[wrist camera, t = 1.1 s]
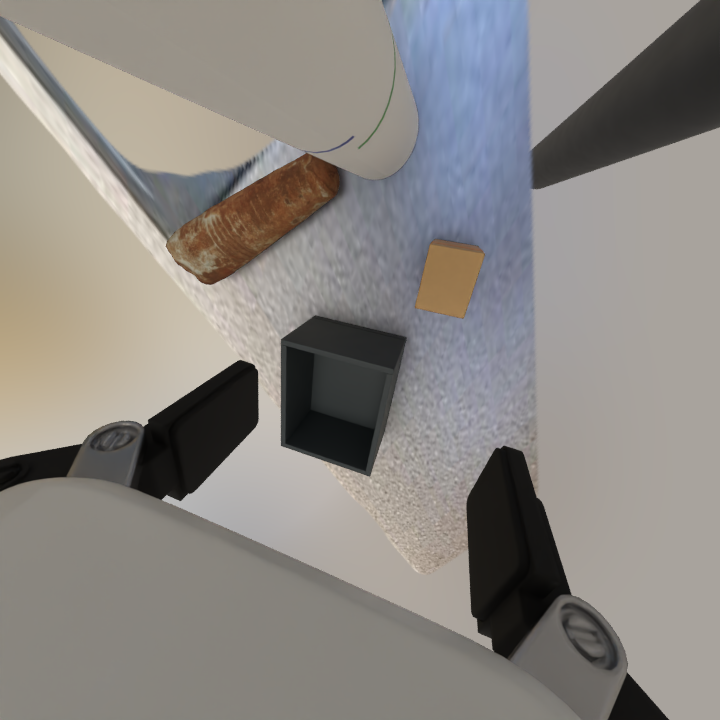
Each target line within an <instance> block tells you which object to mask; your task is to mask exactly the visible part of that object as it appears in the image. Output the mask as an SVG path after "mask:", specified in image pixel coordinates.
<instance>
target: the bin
mask: <svg viewBox="0 0 720 720" xmlns="http://www.w3.org/2000/svg"><path fill="white" fill-rule="evenodd" d="M406 339H407V338H406V337H401V336H397V335H393V334H389V333H385V332H381V331H377V330H373V329H368V328H364V327H360V326H356V325H352V324H348V323H344V322H340V321H336V320H331V319H327V318H323V317H319V316H314V317H312V318H311V319H310V320H308V321H307V322H305V323H304V324H302V325H301V326H300V327H298V328H297V329H295V330H294V331H292V332H291V333H290V334H288V335H287V336H285V337H284V338H282V339H281V446H283V447H286V448H289V449H292V450H295V451H298V452H301V453H303V454H306V455H309V456H312V457H315V458H318V459H321V460H324V461H326V462H329V463H332V464H335V465H338V466H341V467H344V468H347V469H350V470H353V471H355V472H358V473H361V474H364V475H367V476H370V475H371V472H372V468H373V465H374V462H375V459H376V456H377V453H378V450H379V447H380V444H381V441H382V438H383V435H384V431H385V427H386V423H387V419H388V415H389V410H390V406H391V402H392V398H393V394H394V389H395V385H396V381H397V377H398V373H399V368H400V364H401V360H402V356H403V352H404V347H405V343H406Z"/></svg>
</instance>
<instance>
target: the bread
mask: <svg viewBox="0 0 720 720" xmlns="http://www.w3.org/2000/svg"><path fill="white" fill-rule="evenodd" d="M339 185H340V178H339V174H338V170H337V168H336V166H335V165H333V164H331V163H328V162H326V161H324V160H322V159H320V158H317V157H315V156H313V155H311V154H308V153H306V154H304V155H303V156H301V157H299V158H297V159H296V160H294V161H292V162H290V163H289V164H287V165H285V166H283V167H281V168H279V169H277V170H275V171H273V172H272V173H270V174H268V175H267V176H265V177H264V178H262V179H259V180H258V181H256V182H254V183H253V184H251V185H249V186H248V187H246V188H244V189H243V190H241V191H239V192H237V193H236V194H234V195H232V196H230V197H229V198H227V199H225V200H224V201H222V202H220V203H219V204H217V205H215V206H213V207H211V208H209V209H208V210H206V211H205V212H204V213H203V214H201V215H199V216H198V217H196V218H194V219H193V220H191V221H189V222H188V223H186V224H185V225H183V226H182V227H181V228H180V229H178V230H177V231H175V232H174V234H173V235H172V236H171V237H170V238H169V240H168V241H167V244H166V247H167V249H168V251H169V253H170V254H171V255H172V257H173V258H174V260H175V262H176V263H177V264H178V265H180V266H182V267H183V268H184V269H185V270H186V271H188V272H190V273H191V274H193V275H195V276H196V278H197V279H198V280H199V281H200V282H202V283H204V284H209V285H211V284H215V283H216V282H218V281H220V280H222V279H224V278H226V277H228V276H229V275H231V274H232V273H234V272H235V271H236V270H237V269H239V268H240V267H242V266H243V265H245V264H246V263H248V262H249V261H251V260H252V259H253V258H255V257H256V256H257V255H258V254H260V253H261V252H263V251H264V250H265V249H267V248H268V247H269V246H270V245H272V244H273V243H274V242H276V241H277V240H279V239H280V238H281V237H282V236H284V235H285V234H286V233H288V232H289V231H290V230H292V229H293V228H295V227H296V226H297V225H299V224H300V223H301V222H303V221H304V220H305V219H306V218H308V217H309V216H310V215H311V214H312V213H314V212H315V211H317V210H318V209H319V208H320V207H321V206H323V205H324V204H325V203H327V202H328V201H330V200H331V199H332V198H334V197H335V196H336V195H337V192H338V189H339Z"/></svg>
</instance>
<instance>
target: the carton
mask: <svg viewBox="0 0 720 720" xmlns="http://www.w3.org/2000/svg"><path fill="white" fill-rule="evenodd" d="M484 256H485V253H484V252H483V250H481V249H480V248H479V247H478V246H474V245H469V244H463V243H457V242H451V241H445V240H439V239H434V241H432V242H431V244H430V246H429V250H428V254H427V258H426V263H425V267H424V271H423V275H422V279H421V283H420V288H419V292H418V296H417V300H416V304H415V308H417V309H422V310H426V311H431V312H435V313H440V314H444V315H449V316H453V317H458V318H462V319H463V318H464V316H465V313H466V310H467V307H468V304H469V301H470V298H471V295H472V292H473V289H474V286H475V283H476V280H477V277H478V274H479V271H480V268H481V265H482V262H483V259H484Z"/></svg>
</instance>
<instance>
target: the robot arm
mask: <svg viewBox="0 0 720 720" xmlns="http://www.w3.org/2000/svg"><path fill="white" fill-rule="evenodd" d="M258 419H259V418H258V370H257V369H255V366H254V365H253V364H251V363H248V362H245V361H242V360H239V361H237V362H235V363H234V364H232V365H231V366H229V367H228V368H226V369H225V370H223V371H222V372H220V373H219V374H217V375H216V376H214V377H213V378H211V379H210V380H208V381H206V382H205V383H203V384H202V385H200V386H199V387H197V388H196V389H195V390H193V391H191V392H190V393H188V394H187V395H185V396H184V397H182V398H181V399H179V400H178V401H176V402H175V403H173V404H172V405H170V406H169V407H167V408H166V409H164V410H163V411H161V412H159V413H158V414H157V415H155V416H153V417H152V418H150V419H149V420H148V424H147V425H145V426H144V427H143V426H142V425H141V424H139V423H137V422H134V421H119V422H114V423H110V424H107V425H105V426H102V427H101V428H98V429H96V430H95V431H93V432H92V433H91V434H90V435H88V437H87V438H86V439H85V440H84V442H83V444H79V445H73V446H68V447H63V448H57V449H52V450H46V451H41V452H36V453H30V454H25V455H19V456H14V457H9V458H6V459H2V460H0V720H669V719H668V718H667V717H666V716H665V715H664V714H663V712H662V711H661V710H660V709H659V708H658V707H657V706H656V704H655V703H654V702H653V701H652V700H651V699H650V698H649V697H648V695H647V694H646V693H645V692H644V691H643V690H642V689H641V687H640V686H639V685H638V684H637V683H636V682H635V681H634V680H633V678H632V677H631V676H630V675H629V674H628V673H627V667H628V663H627V658H626V653H625V650H624V648H623V646H622V643H621V642H620V639H619V637H618V636H617V634H616V633H615V631H614V630H613V628H612V627H611V625H610V624H609V623H608V622H607V620H606V619H605V618H604V617H603V616H602V615H601V614H600V613H599V612H598V611H597V610H596V609H595V608H594V607H592V606H591V605H590V604H589V603H587V602H585V601H584V600H582V599H580V598H579V597H576V596H572V595H571V592H570V589H569V585H568V582H567V579H566V576H565V573H564V569H563V566H562V563H561V560H560V557H559V554H558V550H557V547H556V544H555V541H554V538H553V534H552V531H551V528H550V525H549V521H548V518H547V515H546V512H545V509H544V506H543V504H542V502H541V501H540V500H539V499H538V498H537V497H536V494H535V491H534V487H533V484H532V481H531V477H530V474H529V470H528V467H527V464H526V460H525V457H524V454H523V452H522V451H519V450H516V449H513V448H510V447H507V446H503V447H502V448H501V449H499V448H496V449H495V450H494V452H493V454H492V455H491V457H490V459H489V461H488V462H487V464H486V466H485V468H484V469H483V471H482V473H481V475H480V476H479V478H478V480H477V482H476V484H475V485H474V487H473V489H472V491H471V492H470V494H469V496H468V499H467V528H468V551H469V573H470V594H471V612H472V615H473V617H475V618H477V624H478V633H480V634H482V635H485V636H487V637H489V638H491V639H492V647H493V650H494V652H493V651H491V650H489V649H488V648H485V647H484V646H482V645H480V644H478V643H476V642H474V641H473V640H471V639H469V638H466V637H464V636H462V635H460V634H458V633H456V632H454V631H452V630H450V629H447V628H445V627H443V626H441V625H439V624H437V623H435V622H432V621H430V620H429V619H426V618H424V617H422V616H420V615H418V614H416V613H414V612H412V611H409V610H407V609H405V608H403V607H401V606H398V605H396V604H394V603H391V602H389V601H387V600H385V599H383V598H380V597H378V596H376V595H374V594H372V593H370V592H367V591H365V590H363V589H361V588H359V587H356V586H354V585H352V584H350V583H348V582H345V581H343V580H340V579H339V578H337V577H334V576H332V575H330V574H328V573H325V572H323V571H321V570H319V569H316V568H314V567H312V566H309V565H307V564H305V563H303V562H301V561H299V560H296V559H294V558H292V557H290V556H287V555H285V554H283V553H280V552H278V551H276V550H274V549H271V548H269V547H267V546H265V545H263V544H260V543H258V542H256V541H253V540H252V539H249V538H247V537H245V536H243V535H240V534H238V533H236V532H233V531H231V530H229V529H227V528H224V527H222V526H220V525H218V524H215V523H213V522H210V521H208V520H206V519H204V518H202V517H199V516H197V515H195V514H192V513H190V512H188V511H186V510H183V509H181V508H179V507H176V506H174V505H172V504H169V503H167V502H164V501H162V499H163V498H164V497H165V496H166V495H168V496H170V497H173V498H175V499H177V500H179V501H181V500H182V499H183V498H184V497H185V496H186V495H187V494H188V493H189V494H190V493H193V492H194V491H195V490H196V489H197V488H198V487H199V486H200V485H201V484H202V483H203V482H204V481H205V480H206V479H207V477H209V476H210V475H211V473H213V471H214V470H215V469H216V468H217V467H218V466H219V465H220V464H221V463H222V462H223V461H224V460H225V459H226V458H227V457H228V456H229V455H230V453H232V451H233V450H234V449H235V448H236V447H237V446H238V445H239V444H240V443H241V442H242V441H243V440H244V439H245V438H246V437H247V435H249V434H250V432H251V431H252V430H253V429H254V428H255V427H256V425H257V423H258Z"/></svg>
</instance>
